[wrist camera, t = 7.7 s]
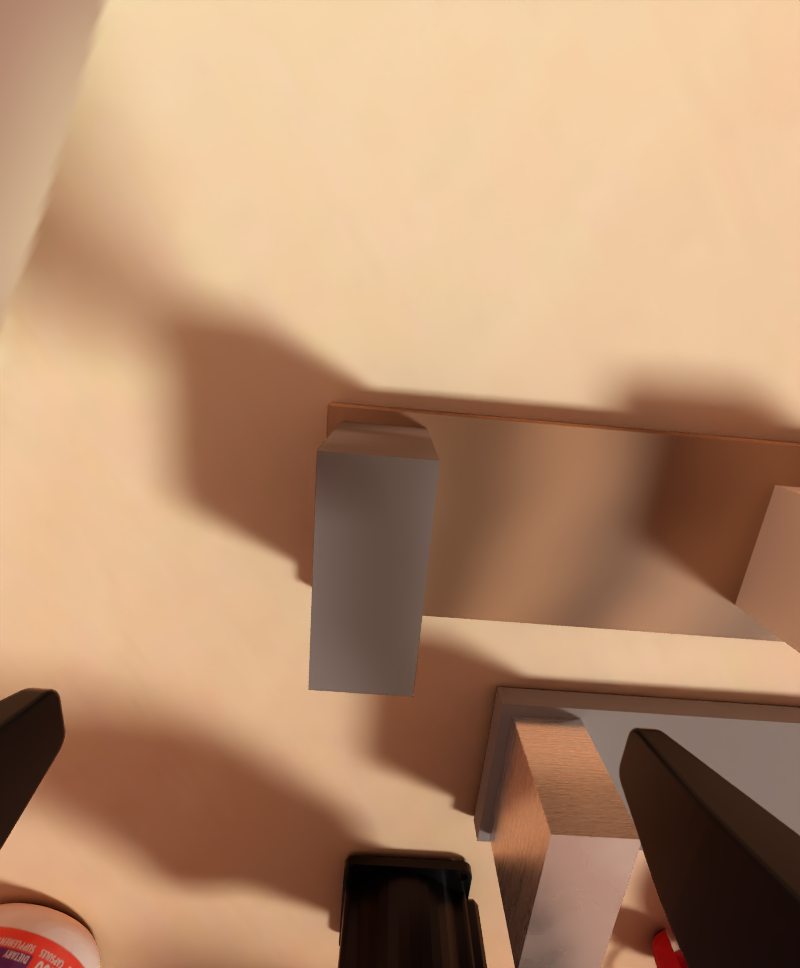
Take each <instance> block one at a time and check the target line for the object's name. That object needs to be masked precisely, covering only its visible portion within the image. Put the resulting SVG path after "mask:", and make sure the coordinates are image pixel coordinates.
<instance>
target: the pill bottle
mask: <svg viewBox="0 0 800 968" xmlns="http://www.w3.org/2000/svg"><path fill="white" fill-rule="evenodd" d="M100 966H101V961H100V954H99V950H98V947H97V945H96V942H95V940H94V938H93V936H92V935H91V933H90V932H89V931H88V930H87V929H86V928H85V927H84V926H83V925H82V924H81V923H79V922H78V921H76V920H75V919H73V918H72V917H70V916H68V915H66V914H64V913H62V912H60V911H57V910H54V909H51V908H48V907H44V906H40V905H34V904H27V903H7V904H0V968H100Z"/></svg>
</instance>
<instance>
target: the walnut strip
mask: <svg viewBox="0 0 800 968" xmlns="http://www.w3.org/2000/svg"><path fill="white" fill-rule="evenodd" d="M775 485H778V486H790V487H800V443H793V442H782V441H770V440H759V439H747V438H736V437H724V436H713V435H701V434H690V433H678V432H667V431H655V430H644V429H632V428H621V427H609V426H598V425H586V424H575V423H563V422H552V421H540V420H529V419H517V418H506V417H494V416H483V415H471V414H460V413H448V412H437V411H425V410H414V409H402V408H391V407H379V406H368V405H356V404H345V403H333V402H332V403H330V404H329V405H328V416H327V439H326V440H325V441H324V443H323V444H322V445H321V446H320V447H319V449H318V450H317V465H316V493H315V521H314V549H313V578H312V606H311V634H310V662H309V690H318V691H333V692H348V693H363V694H378V695H393V696H409V697H413V692H414V683H415V675H416V666H417V657H418V649H419V640H420V631H421V623H422V616H436V617H450V618H464V619H478V620H491V621H505V622H519V623H533V624H547V625H561V626H574V627H588V628H602V629H616V630H630V631H643V632H657V633H671V634H685V635H699V636H713V637H726V638H740V639H754V640H768V641H782V642H784V641H783V640H782V639H780V638H779V637H778V636H776V635H775V634H774V633H772V632H771V631H769V630H768V629H767V628H765V627H764V626H763V625H761V624H760V623H759V622H757V621H756V620H755V619H753V618H752V617H750V616H749V615H748V614H746V613H745V612H744V611H742V610H741V609H740V608H738V607H737V606H736V605H735V603H736V600H737V597H738V594H739V591H740V588H741V585H742V582H743V580H744V577H745V574H746V571H747V568H748V565H749V562H750V559H751V556H752V553H753V550H754V547H755V544H756V541H757V538H758V535H759V532H760V529H761V526H762V523H763V520H764V517H765V514H766V511H767V508H768V505H769V502H770V499H771V496H772V493H773V490H774V487H775Z"/></svg>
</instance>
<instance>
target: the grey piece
mask: <svg viewBox="0 0 800 968" xmlns="http://www.w3.org/2000/svg"><path fill="white" fill-rule="evenodd" d="M633 728H652V729H658V730H660V731H662V732H664V733H665V734H667V735H668V736H669V737H671V738H672V739H673V740H674V741H676V742H677V743H678V744H680V745H681V746H682V747H684V748H685V749H686V750H688V751H689V752H690V753H692V754H693V755H694V756H696V757H697V758H698V759H700V760H701V761H702V762H704V763H705V764H706V765H708V766H709V767H710V768H711V769H713V770H714V771H715V772H717V773H718V774H719V775H721V776H722V777H723V778H725V779H726V780H727V781H729V782H730V783H731V784H733V785H734V786H735V787H737V788H738V789H739V790H741V791H742V792H743V793H745V794H746V795H747V796H749V797H750V798H751V799H752V800H754V801H755V802H756V803H758V804H759V805H760V806H762V807H763V808H764V809H766V810H767V811H768V812H770V813H771V814H772V815H774V816H775V817H776V818H778V819H779V820H780V821H782V822H783V823H784V824H786V825H787V826H788V827H789V828H791V829H792V830H793V831H795V832H796V833H797V834H799V835H800V707H787V706H772V705H757V704H742V703H728V702H713V701H698V700H683V699H668V698H654V697H639V696H624V695H609V694H594V693H580V692H565V691H550V690H535V689H521V688H506V687H497V693H496V698H495V704H494V710H493V715H492V721H491V726H490V732H489V738H488V743H487V749H486V754H485V760H484V766H483V771H482V777H481V782H480V788H479V794H478V799H477V805H476V810H475V816H474V824H475V830H476V836H477V841H489V842H491V846H492V851H493V856H494V861H495V866H496V871H497V877H498V882H499V887H500V892H501V897H502V902H503V908H504V913H505V918H506V923H507V928H508V933H509V939H510V944H511V949H512V954H513V959H514V965H515V968H601V965H602V962H603V959H604V956H605V953H606V949H607V946H608V943H609V940H610V937H611V934H612V931H613V928H614V925H615V922H616V919H617V916H618V913H619V909H620V906H621V903H622V900H623V897H624V894H625V891H626V888H627V885H628V882H629V879H630V876H631V873H632V869H633V866H634V863H635V860H636V857H637V854H638V851H639V850H643V849H642V846H641V843H640V840H639V837H638V834H637V831H636V828H635V825H634V822H633V819H632V816H631V813H630V810H629V807H628V804H627V801H626V798H625V795H624V792H623V789H622V786H621V782H620V777H619V767H620V762H621V759H622V755H623V752H624V748H625V745H626V742H627V738H628V735H629V732H630V731H631V730H632V729H633Z"/></svg>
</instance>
